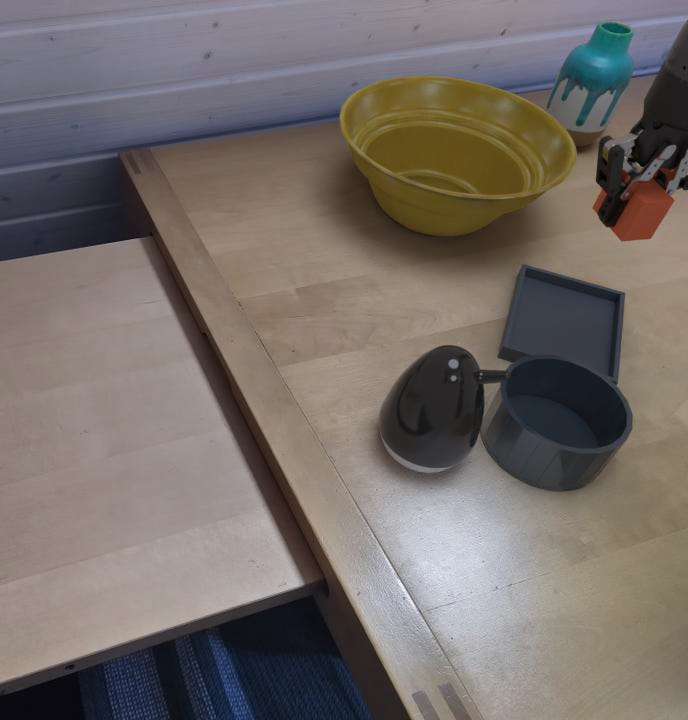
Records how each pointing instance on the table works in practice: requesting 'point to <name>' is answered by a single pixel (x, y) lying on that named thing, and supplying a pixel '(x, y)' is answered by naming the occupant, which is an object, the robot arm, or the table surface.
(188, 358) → the table surface
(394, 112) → the planter bowl
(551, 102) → the vase
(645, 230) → the sponge
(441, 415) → the pump dispenser
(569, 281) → the tray
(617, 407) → the crock
